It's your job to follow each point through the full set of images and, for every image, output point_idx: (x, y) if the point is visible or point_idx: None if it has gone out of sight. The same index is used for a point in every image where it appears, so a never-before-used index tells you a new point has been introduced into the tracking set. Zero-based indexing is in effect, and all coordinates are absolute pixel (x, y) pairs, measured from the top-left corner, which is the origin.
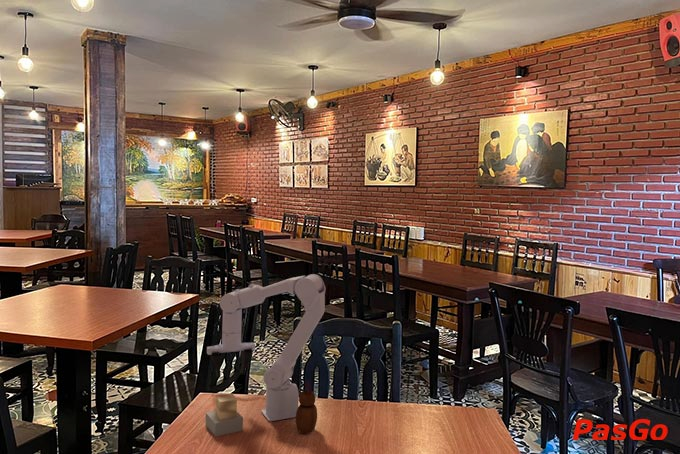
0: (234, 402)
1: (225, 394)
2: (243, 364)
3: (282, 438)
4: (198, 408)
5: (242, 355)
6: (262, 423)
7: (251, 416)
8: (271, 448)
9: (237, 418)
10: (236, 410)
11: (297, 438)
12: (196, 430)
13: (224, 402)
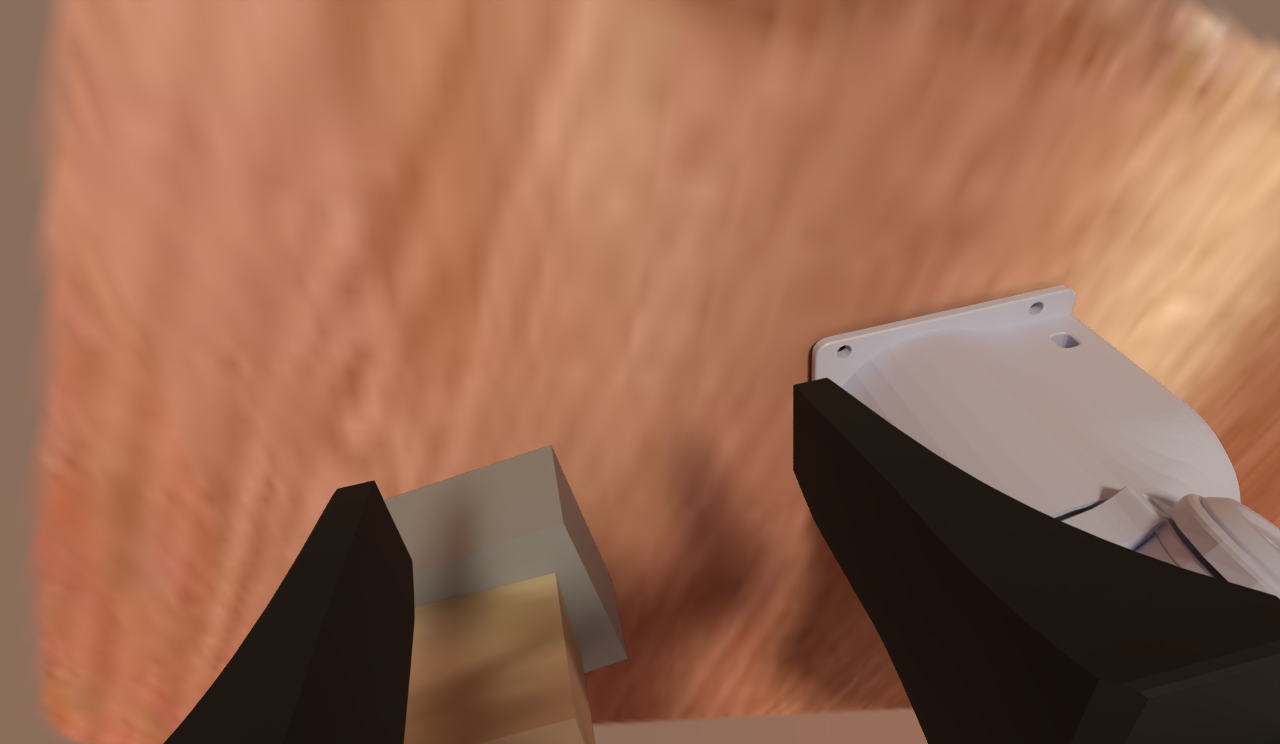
0: None
1: (500, 739)
2: (879, 602)
3: (809, 649)
4: (160, 175)
5: (986, 696)
6: (760, 509)
7: (712, 408)
8: (724, 717)
9: (586, 669)
10: (587, 702)
11: (880, 648)
12: (273, 581)
13: None
